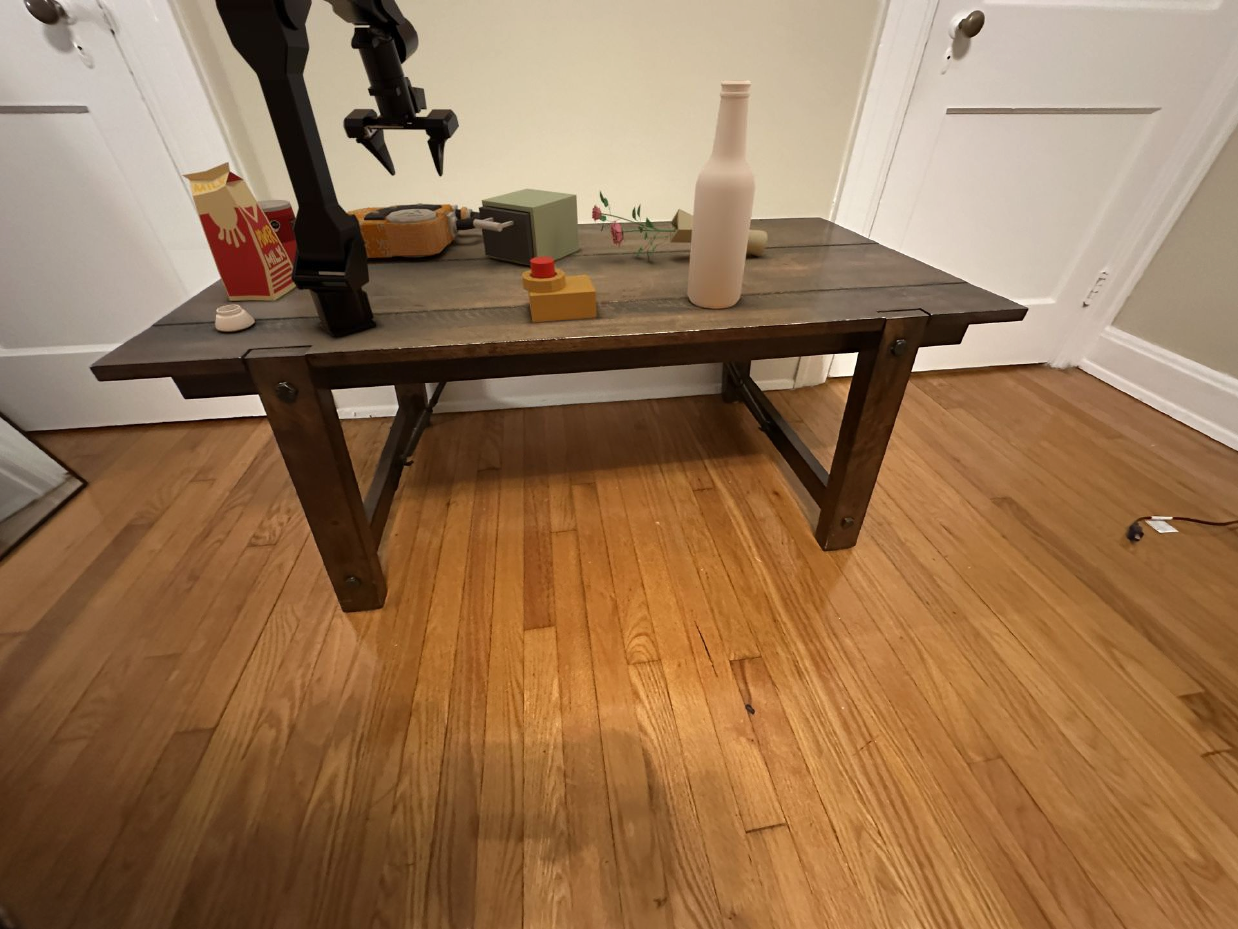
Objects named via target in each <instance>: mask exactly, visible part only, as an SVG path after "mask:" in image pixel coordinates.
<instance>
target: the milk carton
mask: <svg viewBox="0 0 1238 929" xmlns="http://www.w3.org/2000/svg"><path fill="white" fill-rule="evenodd" d="M229 162H230V161H227V162H224V163H222V164H219V165H217V166H215V167H212V168H209V169H207V170H204V171H203V170H202V171H198V172H191V173H187V174H182V175H181V176H182V177H184V178H185V179H187V180H188V181H189V186H190V191H191V196H192V199H193V202H194V205H195V206H194V207H195V209H196V212H197V215H198V218H199V221H200V224H201V228H202V231H203V233H204V236H205V239H206V241H207V245H208V247H209V250H210V253H211V256H212V258H213V261H214V264H215V267H216V269H217V272H218V275H219V277H220V280H221V282H222V284H223V288H224V290H225V292H226V295H227V297H228V299H229V301H230V302H233V301H268V302H269V301H272V302H274V301H276V300H278V299H280V298H281V297H283V296H284V295H286V294H287V293H289V292H290V291H292V290H293V289H295V288H297V286H296V285H295V283H294V282H293V280H292V279H291V275H292V270H293V265H292V263H291V261H290V259H289V257H288V255H287V253H286V251H285V250H284V248H283V246H282V244H281V242H280V241H279V239H278V237H277V235H276V233H275V231H274V230H273V228H272V226H271V224H270V222H269V221H268V219H267V217H266V215H265V214H264V212H263V211H262V209H261V207H260V206H259V204H258V200H257V199H256V198H255V196H254V194H253V193H252V191H251V189H250V188H249V186H248V185H247V183H246V181H245V179H244V178H243V177H240V176H239V175H237V174H236V173H234V172H232V171H231V169H230V163H229Z"/></svg>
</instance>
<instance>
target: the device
mask: <svg viewBox="0 0 1238 929" xmlns="http://www.w3.org/2000/svg"><path fill="white" fill-rule="evenodd" d="M346 213H347V214H354V215H355V216H356V217H357V219H358V221H359V225H360V231H361V234H362V237H363V240H364V242H365V248H366V253H367V259H369V258H370V259H372V258H393V257H403V258H426V257H431V256H435V255H438V254H440V253H441V252H442V251H443V250H444V249H445V248H446V246H448V245H450V244H451V242H452V241H453V240H454V238H455V237H456V236H457V234H458V233H459V231H468V230H473V229H477V228H476V227H474V225H473V222H474V220H475V219H478V220H480V214H479V211H474V210H473V209H472V208H468V207H467V206H462V207H461V208H459V205H458V204H450V203H448V204H447V203H445V204H442V203H441V204H438V203H437V204H433V203H432V204H431V203H422V202H420V203H416V204H395V205H390V206H387V207H386V206H382V207H379V206H378V207H377V206H375V207H374V206H373V207H364V208H358V209H354V210H348V211H346Z"/></svg>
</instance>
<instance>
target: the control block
mask: <svg viewBox="0 0 1238 929" xmlns="http://www.w3.org/2000/svg"><path fill="white" fill-rule="evenodd" d="M521 277H522V287H523V290H525V291H526V292H528V302H529V308H530V314H531V320H532V323H543V322H555V321H567V320H581V319H594V318H597V316H598V315H597V291H596V289H595V287H594V285H593V283H592V280H591V278H590V276H589V274H582V275H581V274H580V275H579V274H578V275H566V274H565V271H564V270H562V269H559V268H555V276H554V277H551V278H545V279H538V278H533V277H532V273H531V269H528V270H526V271H524V272H523V273H522V274H521Z"/></svg>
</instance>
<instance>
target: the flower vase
mask: <svg viewBox="0 0 1238 929" xmlns="http://www.w3.org/2000/svg"><path fill="white" fill-rule="evenodd" d="M599 198H600V201H601V202H602V204H603V206H604V207H605V208H607V207H608V210H609V211H611V208H610V207H611V206H610V204H609V200H608V198H607V197H604V195H603V193H602V191H601V190H599ZM607 216H608V217H613V218H616V219H614V220H613V221H612V220H608V219H607ZM631 216H632V219H633V220H635V221H633V220H631V219H627V218H624V217H621V216H617V215H614V214H610V213H604V212H603V213H602V210H601V207H598V206H597V204H594V205H593V207H592V211H591V219H593V220H594V223H596V222H597V221H598V220H599V221H601V222H603V223H602V225H601V229H600V232H602V231H603V230H604V228H605V227H607V226H609V227H610V230H609V232H610V234H611V236H612V237H611V238H612V243H613V245H616V246H617V247H619V248H621V244H622V242H623V240H624V242H626V240H625V238H624V237H625V236H624V235H625V234H624V233H632V232H640V234H642V233H643V232H644V235H643V240H644V241H646V240H647V239H648V238H649V235H648V232H657V234H659V233H660V232H663V233H665V232H666V233H669V234H668V235H666V236H664V238H665V237H666V238H665V240H664V241H663V242H661V244H664V243H665V242H666V241H667V240H668V237H669V236H670V237H669V243H673V244H674V243H675V244H676V243H679V244H680V243H681V244H682V243H683V244H685V243H686V244H687V243H688V244H691V238H692V225H693V214H691V213H689V212H687V211H685V210H683V209H681V208H678V209H677V211H676V213H675V214H674V215H673V217H672V218H671V221H670V224H669V227H670V228H669V229H659V228H657V227H656V226H655V224H654V223H653V222H651V220H650V219H649V218H648V217H646V218H645V224H644V223H641V222H642V221H641V203H640V204H639V205H638V207H637V211H636V206H634V207H633V209H632V211H631ZM637 217H638V218H639V220H637ZM617 218H618V219H617ZM618 220H624V221H627V222H630V223H633V224H636V225H638V226H637V228H638V229H630V230H623V227H622V225H621V224H620V223H618V222H617V221H618ZM605 221H608V222H610V223H609V224H607V225H604V222H605ZM661 238H662V236H659V237H658V239H661ZM656 239H657V237H656V235H653V237H652V238H651V237H650V240H649V242H648V243H647V245H646V246H645V247H644V249H643V247H642V246H641V247H639V248H638V251H637V254H636V258H638V257H639V256H640V255H641V253H642V252H643V251H644V250H645V249H647V247H648V245H649V248H648V249H647V251H646V255H647V259H648V261H649V262H651V260H650V256H652V255H653V253H654V251H655V250H656V248H657V247H658V246H659V245H660V243H657V244H655V245H653V244H654V240H656ZM767 244H768V233H767V231H765V230H758V229H751V228H750V229H749V237H748V244H747V251H746V254H748V255H751V256H754V257H760V256H762V254H764V252H765V249H766V247H767ZM651 247H652V250H651V252H650V256H649V251H650V248H651Z"/></svg>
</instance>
